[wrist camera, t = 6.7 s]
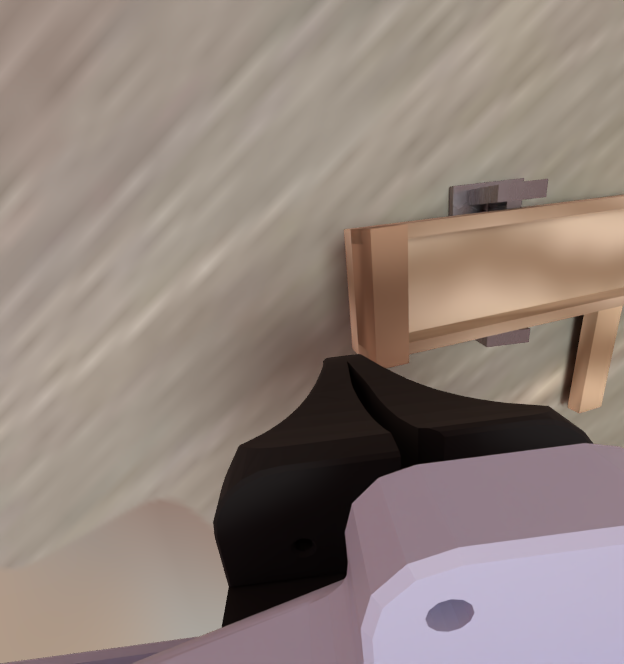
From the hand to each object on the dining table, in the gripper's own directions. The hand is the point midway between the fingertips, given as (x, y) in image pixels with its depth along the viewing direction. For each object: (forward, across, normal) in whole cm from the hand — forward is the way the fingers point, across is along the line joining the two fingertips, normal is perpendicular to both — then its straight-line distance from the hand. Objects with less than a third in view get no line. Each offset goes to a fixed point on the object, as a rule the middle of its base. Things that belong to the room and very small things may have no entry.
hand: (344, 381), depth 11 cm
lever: (+7, -10, +2) cm, 12 cm away
